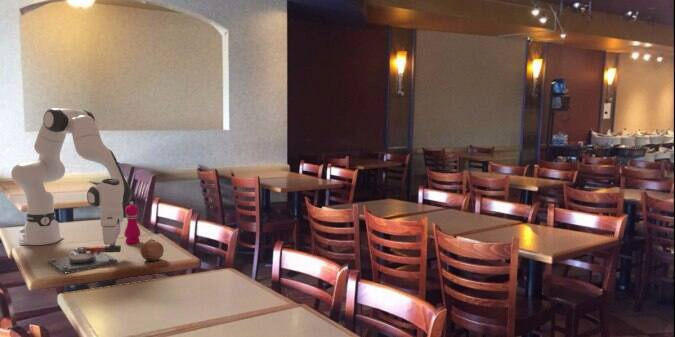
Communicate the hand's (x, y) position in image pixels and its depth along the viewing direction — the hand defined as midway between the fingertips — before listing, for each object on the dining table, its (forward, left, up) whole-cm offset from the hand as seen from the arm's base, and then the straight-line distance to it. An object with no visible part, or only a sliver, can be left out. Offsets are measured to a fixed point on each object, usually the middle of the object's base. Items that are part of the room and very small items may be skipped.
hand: (112, 249), depth 238 cm
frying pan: (-1, -7, -3) cm, 8 cm away
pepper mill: (-24, +19, -5) cm, 31 cm away
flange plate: (-4, -11, -5) cm, 13 cm away
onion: (+10, +13, -5) cm, 17 cm away
